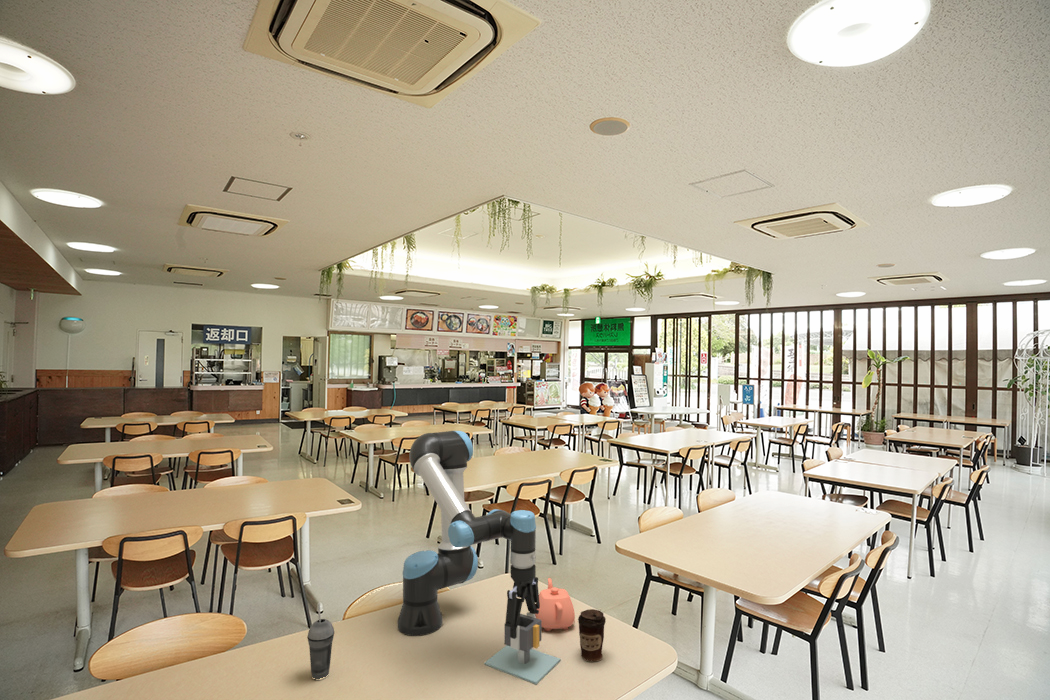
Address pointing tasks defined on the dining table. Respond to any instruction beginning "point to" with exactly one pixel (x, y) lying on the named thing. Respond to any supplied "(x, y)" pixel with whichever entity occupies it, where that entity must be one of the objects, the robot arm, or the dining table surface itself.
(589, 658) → the coffee cup
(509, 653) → the board
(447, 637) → the dining table surface
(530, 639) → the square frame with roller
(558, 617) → the teapot
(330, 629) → the beverage cup
